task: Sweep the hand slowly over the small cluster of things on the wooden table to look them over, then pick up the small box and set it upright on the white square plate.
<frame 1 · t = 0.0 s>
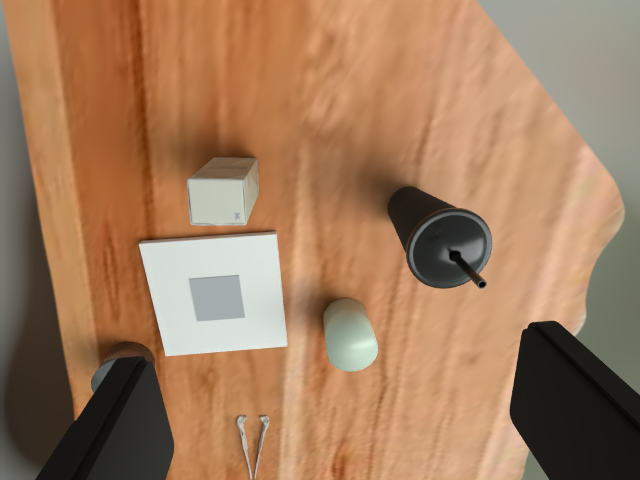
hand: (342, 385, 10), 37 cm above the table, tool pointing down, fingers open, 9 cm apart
tweezers: (253, 453, 61), on the table
drinking cup: (407, 205, 47), on the table
dark tin: (132, 360, 53), on the table
box: (235, 175, 45), on the table
white square plate: (219, 294, 50), on the table
pale green capsule: (345, 317, 52), on the table
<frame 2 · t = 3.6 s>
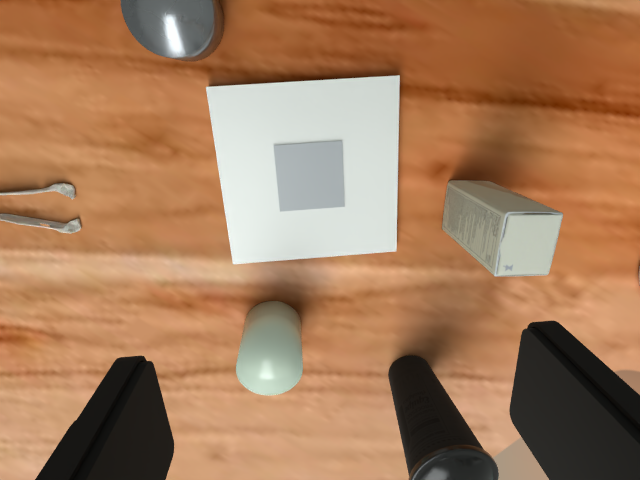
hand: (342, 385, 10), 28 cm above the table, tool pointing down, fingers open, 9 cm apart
drinking cup: (408, 371, 46), on the table
dark tin: (185, 19, 31), on the table
box: (464, 203, 39), on the table
white square plate: (309, 174, 36), on the table
pale green capsule: (272, 325, 42), on the table
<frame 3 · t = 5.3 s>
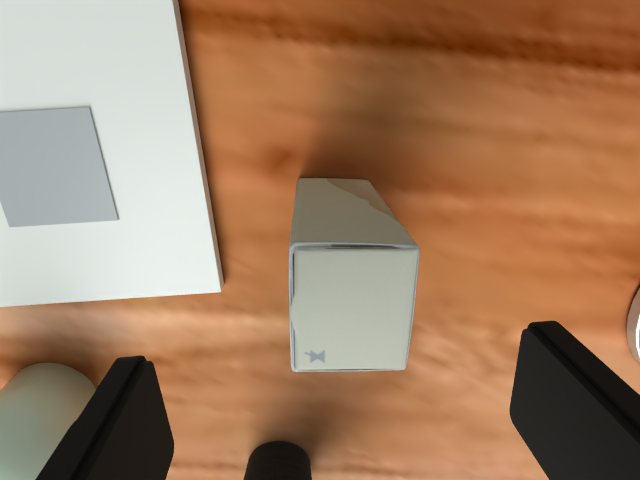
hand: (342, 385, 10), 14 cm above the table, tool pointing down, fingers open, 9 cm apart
drinking cup: (279, 462, 31), on the table
box: (331, 216, 24), on the table
white square plate: (59, 166, 22), on the table
pale green capsule: (56, 397, 28), on the table
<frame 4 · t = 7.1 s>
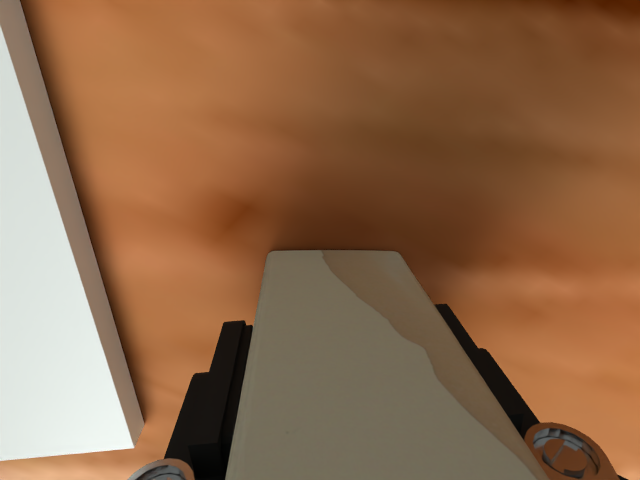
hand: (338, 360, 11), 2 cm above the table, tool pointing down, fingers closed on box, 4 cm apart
box: (330, 311, 13), on the table, touching gripper
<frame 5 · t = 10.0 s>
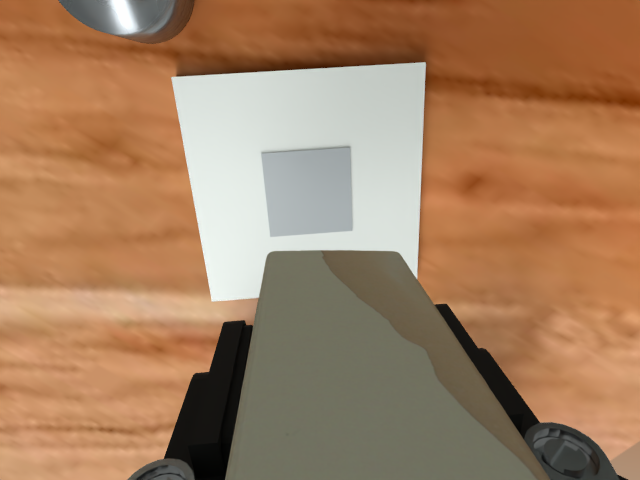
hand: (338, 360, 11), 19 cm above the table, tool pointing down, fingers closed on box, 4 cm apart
box: (330, 311, 13), point 16 cm above the table, touching gripper
white square plate: (308, 189, 28), on the table
when the fingers open (5 cm above the table, at t = 12.9 s): box drops 1 cm, resting on white square plate.
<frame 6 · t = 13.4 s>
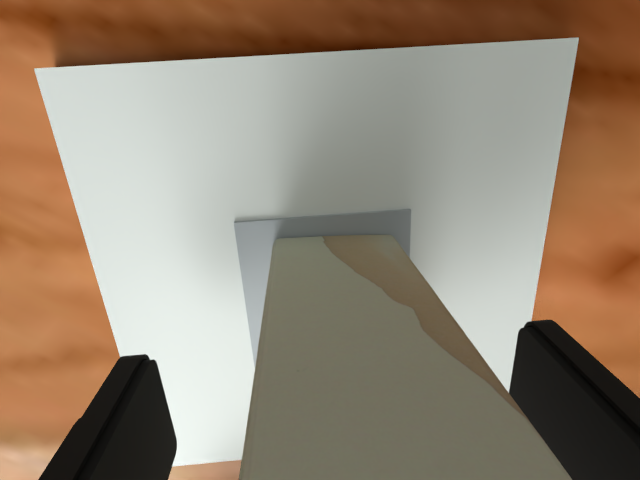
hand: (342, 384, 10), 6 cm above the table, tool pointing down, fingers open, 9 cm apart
box: (332, 293, 14), point 1 cm above the table, touching white square plate
white square plate: (325, 279, 15), on the table
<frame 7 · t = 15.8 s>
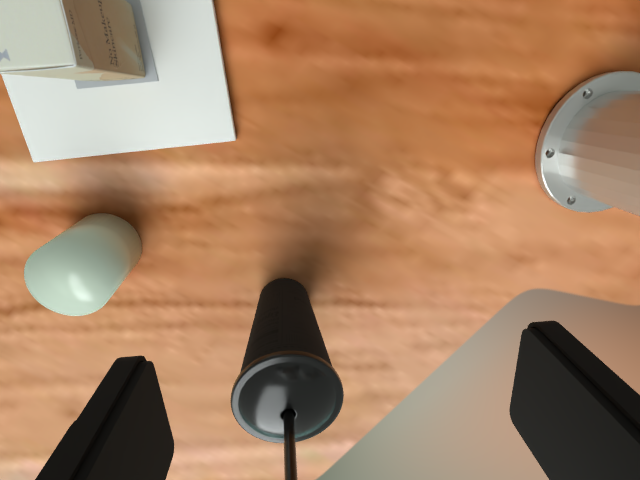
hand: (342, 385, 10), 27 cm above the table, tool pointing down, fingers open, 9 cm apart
drinking cup: (284, 299, 39), on the table
box: (110, 41, 29), point 1 cm above the table, touching white square plate
white square plate: (112, 42, 30), on the table
pale green capsule: (107, 245, 35), on the table
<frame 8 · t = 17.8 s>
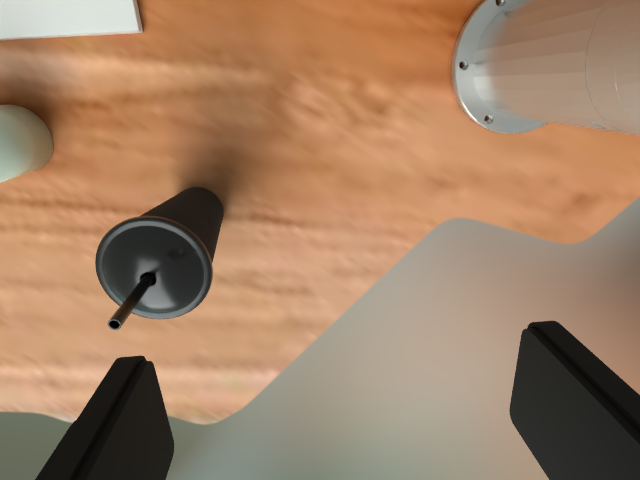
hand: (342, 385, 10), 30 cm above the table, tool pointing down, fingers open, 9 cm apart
drinking cup: (199, 210, 39), on the table
pale green capsule: (18, 139, 36), on the table
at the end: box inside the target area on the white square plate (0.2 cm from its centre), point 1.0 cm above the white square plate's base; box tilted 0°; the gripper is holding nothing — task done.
